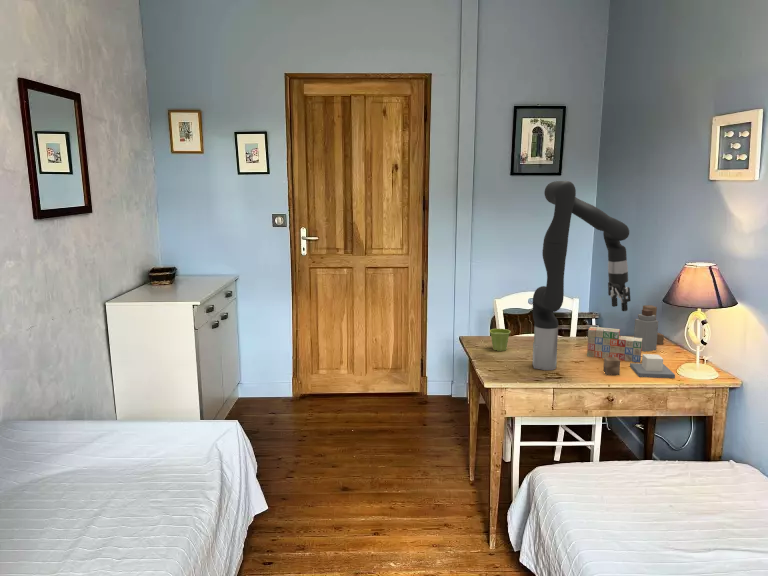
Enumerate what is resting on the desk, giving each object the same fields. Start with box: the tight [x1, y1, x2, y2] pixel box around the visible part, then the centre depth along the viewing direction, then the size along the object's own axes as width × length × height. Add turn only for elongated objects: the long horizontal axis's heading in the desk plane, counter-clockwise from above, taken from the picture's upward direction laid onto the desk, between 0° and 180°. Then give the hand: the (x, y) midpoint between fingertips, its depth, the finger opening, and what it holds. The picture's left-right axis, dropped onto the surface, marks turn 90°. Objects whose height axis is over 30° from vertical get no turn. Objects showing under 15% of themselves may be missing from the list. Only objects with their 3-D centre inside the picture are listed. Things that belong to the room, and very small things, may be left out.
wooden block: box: [642, 304, 665, 345], centre depth 265 cm, size 9×4×18 cm, turn 95°
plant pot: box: [489, 328, 511, 352], centre depth 259 cm, size 9×9×9 cm
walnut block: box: [602, 357, 621, 376], centre depth 224 cm, size 5×5×6 cm
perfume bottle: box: [633, 309, 659, 353], centre depth 256 cm, size 7×7×18 cm
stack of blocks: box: [586, 326, 642, 363], centre depth 244 cm, size 21×6×12 cm, turn 62°
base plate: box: [629, 353, 676, 379], centre depth 225 cm, size 13×13×6 cm
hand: (619, 308), depth 239 cm, fingers open, 8 cm apart
